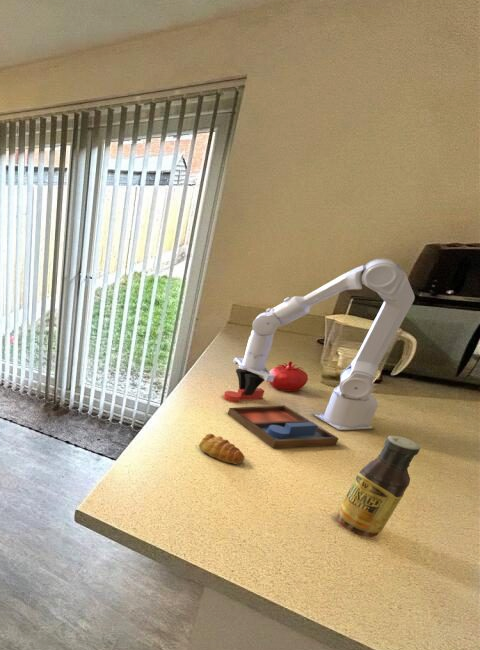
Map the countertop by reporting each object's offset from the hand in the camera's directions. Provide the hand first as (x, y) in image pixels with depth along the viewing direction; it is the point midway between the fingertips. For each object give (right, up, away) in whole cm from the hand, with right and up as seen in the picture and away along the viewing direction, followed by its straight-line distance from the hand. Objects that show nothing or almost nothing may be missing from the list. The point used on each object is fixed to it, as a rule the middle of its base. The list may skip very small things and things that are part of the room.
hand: (245, 393), depth 122 cm
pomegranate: (+18, +1, +7) cm, 19 cm away
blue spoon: (-3, -10, -20) cm, 22 cm away
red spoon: (-1, -2, +1) cm, 2 cm away
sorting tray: (-2, -9, -15) cm, 18 cm away
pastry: (-25, -14, -25) cm, 38 cm away
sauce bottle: (-12, -23, -47) cm, 54 cm away
